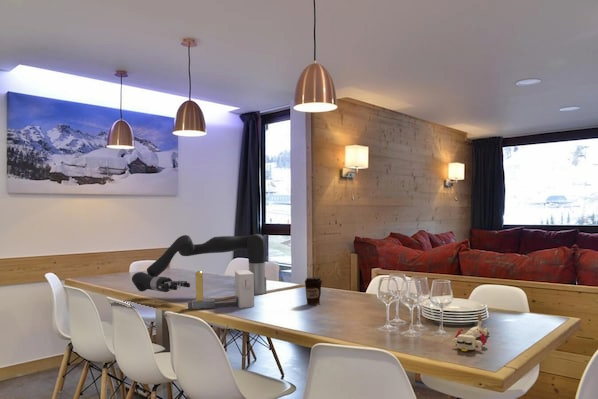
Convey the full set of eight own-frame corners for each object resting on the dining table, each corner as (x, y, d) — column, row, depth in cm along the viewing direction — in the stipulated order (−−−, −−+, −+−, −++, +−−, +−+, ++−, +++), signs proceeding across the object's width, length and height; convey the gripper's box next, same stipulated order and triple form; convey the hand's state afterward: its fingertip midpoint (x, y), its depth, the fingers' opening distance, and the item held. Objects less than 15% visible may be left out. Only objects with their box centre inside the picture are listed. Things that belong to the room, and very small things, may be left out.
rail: (242, 303, 233) (241, 296, 233) (243, 305, 229) (243, 298, 230) (187, 308, 226) (187, 300, 226) (188, 310, 222) (188, 302, 222)
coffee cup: (320, 306, 223) (320, 279, 224) (303, 306, 225) (303, 279, 225) (323, 302, 232) (322, 276, 232) (307, 302, 233) (306, 276, 234)
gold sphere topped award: (213, 304, 231) (212, 269, 231) (215, 307, 224) (214, 270, 224) (192, 306, 228) (192, 270, 228) (193, 309, 221) (193, 272, 221)
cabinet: (249, 301, 239) (248, 270, 240) (254, 307, 225) (253, 273, 226) (234, 302, 237) (233, 271, 237) (239, 308, 223) (238, 274, 223)
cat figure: (466, 336, 172) (447, 349, 151) (466, 312, 173) (447, 321, 152) (495, 340, 166) (479, 353, 146) (495, 315, 167) (479, 325, 146)
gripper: (172, 289, 247) (193, 291, 238) (150, 293, 235) (172, 296, 226) (172, 275, 247) (193, 277, 238) (150, 278, 235) (171, 281, 226)
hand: (183, 286), depth 232 cm, fingers open, 8 cm apart
